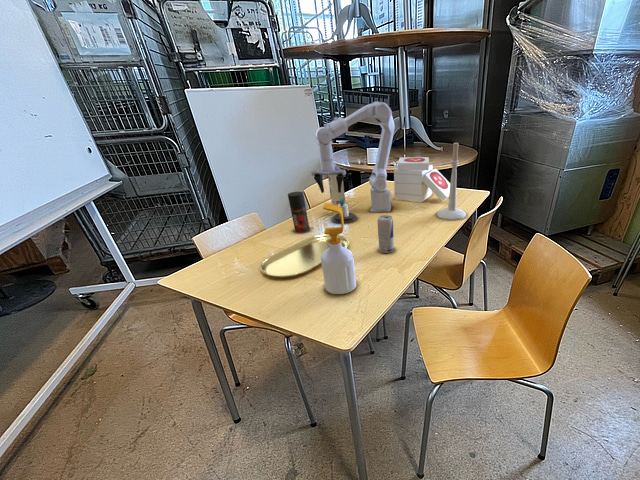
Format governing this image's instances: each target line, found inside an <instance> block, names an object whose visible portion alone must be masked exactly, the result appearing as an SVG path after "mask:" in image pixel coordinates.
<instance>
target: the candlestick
mask: <svg viewBox="0 0 640 480" xmlns="http://www.w3.org/2000/svg"><path fill="white" fill-rule="evenodd" d="M452 144H453V147H452V160H451V159H450V163H451V167H452V168H451V176H450V193H449V197H448V203H447V207H445V208H442V209H440V210H439V211H437V213H436V216H437V217H438V218H439V219H441V220H446V221H459V220H462V219H465V218H466V217H467V213H466V212H465V211H464V210H463V209H461V208H457V175H458V173H457V171H458V170H457V168H458V166H459V162H460V160H458V156H459V142H453V143H452Z"/></svg>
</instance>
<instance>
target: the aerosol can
mask: <svg viewBox="0 0 640 480" xmlns="http://www.w3.org/2000/svg"><path fill="white" fill-rule="evenodd" d="M334 165H335V169H340V170H342V168H340V167H339V166H338V165H337V164H336V162H335V161H334ZM332 174H333V173H332ZM336 176H337V175H327V180H328V181H327V182H328V188H329V194H330V202H331V203H330V204H332V205H336V206H338V205H339V203H340V202H339V201H340V200H341V199H345V200H346V194H345V186H344V180H343V181H342V185H341V192H340V193H339V192H338V184H337V179H336Z"/></svg>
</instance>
